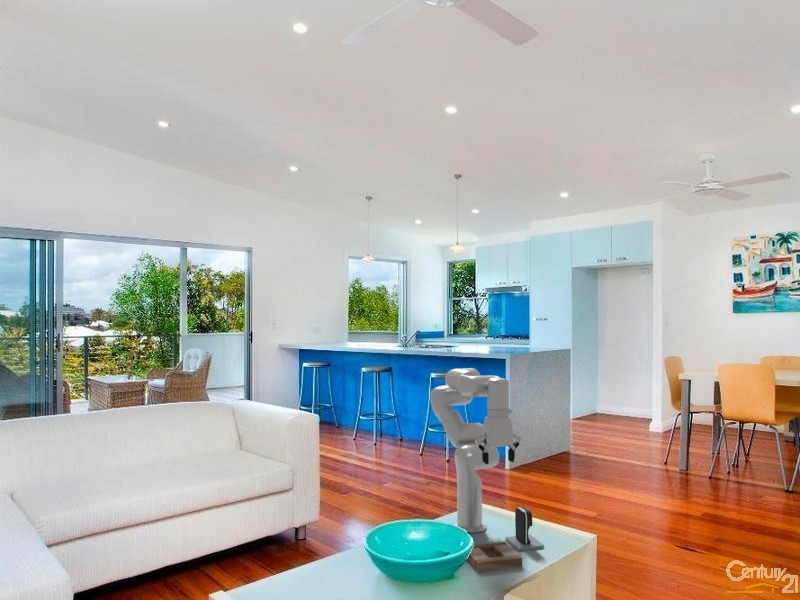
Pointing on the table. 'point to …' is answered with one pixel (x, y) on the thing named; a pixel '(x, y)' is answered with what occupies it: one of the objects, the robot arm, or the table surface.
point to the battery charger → (523, 524)
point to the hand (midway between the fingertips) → (498, 462)
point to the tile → (520, 546)
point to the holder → (503, 558)
